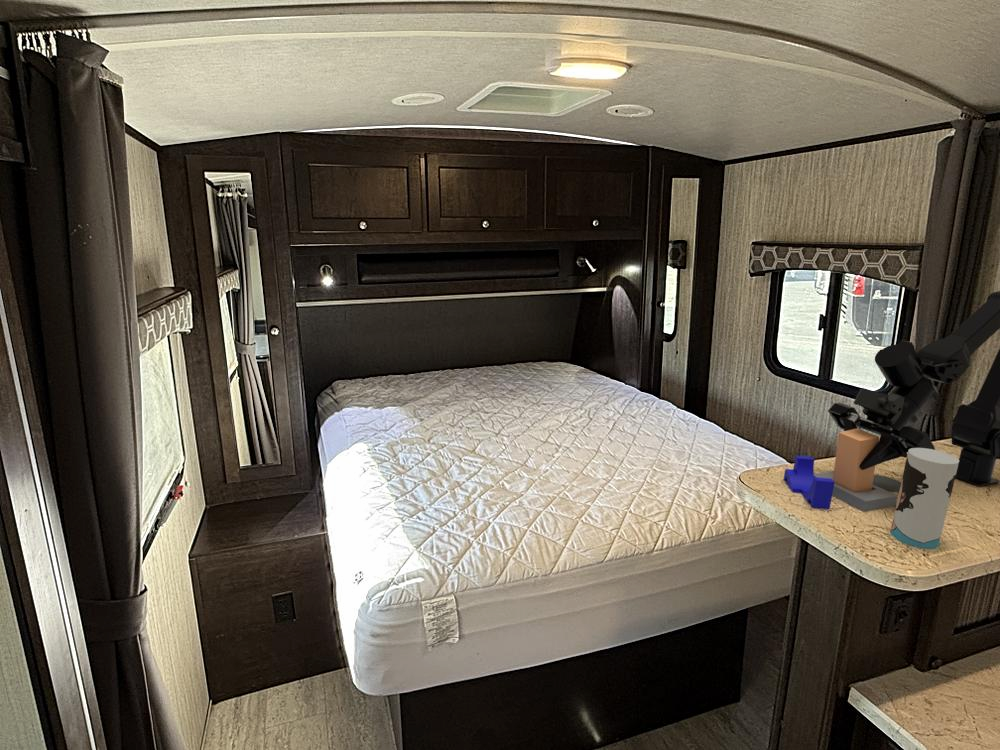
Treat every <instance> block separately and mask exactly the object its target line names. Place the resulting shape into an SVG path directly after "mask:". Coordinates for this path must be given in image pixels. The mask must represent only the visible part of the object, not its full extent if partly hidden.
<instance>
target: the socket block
mask: <svg viewBox="0 0 1000 750" xmlns="http://www.w3.org/2000/svg"><path fill="white" fill-rule="evenodd" d="M833 475H834V470H832V471H825V472H819V473H814V477H818V478H829V479H832V480H833ZM832 497H833V498H836V499H838V500H839V501H841V502H843V503H845V504H848V505H849V506H851V507H852V508H855V509H858V510H859V511H862V512H870V511H874V510H880V509H886V508H887V509H888V508H892V507H896V504H897V500H898V494H896V493H895V494H894V492H888V491H886V490H884V489H882V488H880V487H878V486H875V485H872V490H869V491H863V492H857V493H854V492H852V491H850V490H848V489H846V488H844V487H842V486H840V485H838V484H836V483H834V488H833V493H832Z"/></svg>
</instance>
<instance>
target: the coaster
mask: <svg viewBox="0 0 1000 750" xmlns="http://www.w3.org/2000/svg"><path fill="white" fill-rule="evenodd" d="M901 482H902V481H900V480H899V479H898V480H897V479H895V478H893V477H889V476H884V475H882V474H881V475H880V474H874V478H873V485H875V486H878V487H880V488H882V489H884V490H886V491H888V492H891V493H899V491H900V486H901Z"/></svg>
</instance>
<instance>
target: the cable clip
mask: <svg viewBox="0 0 1000 750" xmlns="http://www.w3.org/2000/svg"><path fill="white" fill-rule="evenodd" d="M793 464H794V465H793V469H792V468H791V469H790V468H785V469H784V475H783V481H784V482H786V485H787V487H788V488H789V489H790V491H791V493H795V494H801V495H802V496H803V498H804V499H805V501H806V502H807V503H809V504H810V507H811V508H812V509H819V510H820V509H821V510H830V508H831V503H832V499H833V496H832V493H833V488H834V483H835V482H834V481H833V480H832V479H829V478H818V477H814V474H815V472H814V469H815V467H814V465H815V458H813V456H807V455H795V457H794V463H793Z"/></svg>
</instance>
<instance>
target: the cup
mask: <svg viewBox="0 0 1000 750" xmlns="http://www.w3.org/2000/svg"><path fill="white" fill-rule="evenodd" d="M904 464H905V465H904V469H903V473H902V478H901V481H900V482H901V486H900V491H899V492H898V494H897V501H896V505H895V510H894V514H893V518H892V524H891V527H890V534H891V536H892V537H893V538H894V539H896V540H898V541H899V542H900V543H904V544H906V545H908V546H911V547H913V548H919V549H924V550H925V549H927V550H932V549H936V548H938V547H939V546H940V542H941V541H940V540H941V537H942V533H943V528H944V525H945V521H946V518H947V517H946V516H947V512H948V508H949V504H950V501H951V498H952V497H951V496H952V492H953V489H954V485H955V484H954V483H955V480H956V477H955V476H956V472H957V468H958V464H959V457H956V456H954V455H952V454H951V453H948V452H944V451H941V450H938V449H935V450H933V449H927V448H911V449H909V451H908V452H907V457H906V460H905V463H904Z"/></svg>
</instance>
